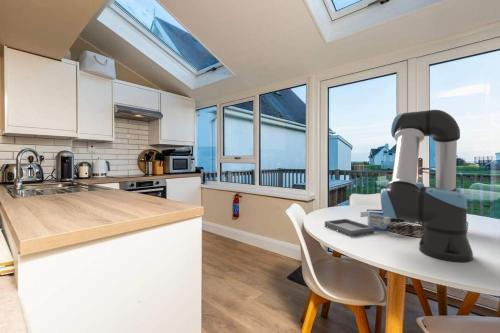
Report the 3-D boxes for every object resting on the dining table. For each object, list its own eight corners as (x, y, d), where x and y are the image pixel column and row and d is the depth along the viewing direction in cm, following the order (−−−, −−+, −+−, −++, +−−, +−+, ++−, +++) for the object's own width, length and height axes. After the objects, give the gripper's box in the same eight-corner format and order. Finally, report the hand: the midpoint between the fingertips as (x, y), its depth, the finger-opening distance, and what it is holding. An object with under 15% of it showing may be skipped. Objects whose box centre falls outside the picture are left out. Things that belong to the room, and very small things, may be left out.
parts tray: (374, 232, 112) (374, 227, 112) (351, 236, 107) (351, 230, 107) (345, 223, 129) (345, 218, 129) (324, 226, 124) (324, 221, 124)
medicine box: (369, 229, 117) (369, 212, 117) (367, 227, 122) (367, 210, 121) (387, 230, 115) (387, 212, 115) (384, 228, 119) (384, 211, 119)
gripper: (427, 226, 113) (395, 232, 105) (381, 215, 136) (352, 219, 129) (427, 211, 113) (396, 215, 105) (381, 202, 136) (352, 205, 128)
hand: (372, 217), depth 117 cm, fingers open, 13 cm apart
